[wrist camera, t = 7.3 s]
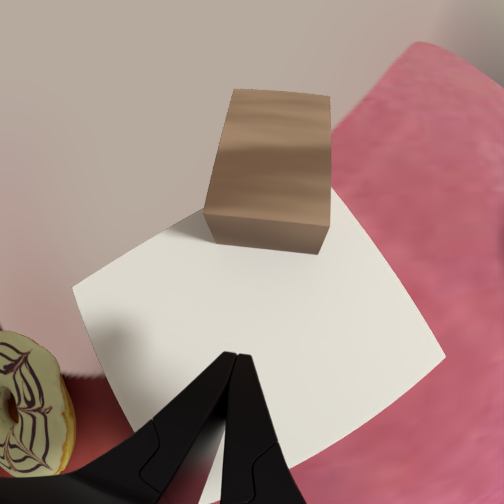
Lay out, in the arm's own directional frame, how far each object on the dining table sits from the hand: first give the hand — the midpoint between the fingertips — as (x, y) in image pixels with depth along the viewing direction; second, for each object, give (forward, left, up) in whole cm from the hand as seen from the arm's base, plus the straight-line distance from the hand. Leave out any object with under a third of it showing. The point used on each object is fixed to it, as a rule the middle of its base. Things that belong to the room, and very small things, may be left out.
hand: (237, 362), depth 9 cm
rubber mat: (+2, -1, -8) cm, 8 cm away
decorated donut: (+4, +16, -9) cm, 19 cm away
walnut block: (+5, -4, -6) cm, 9 cm away
